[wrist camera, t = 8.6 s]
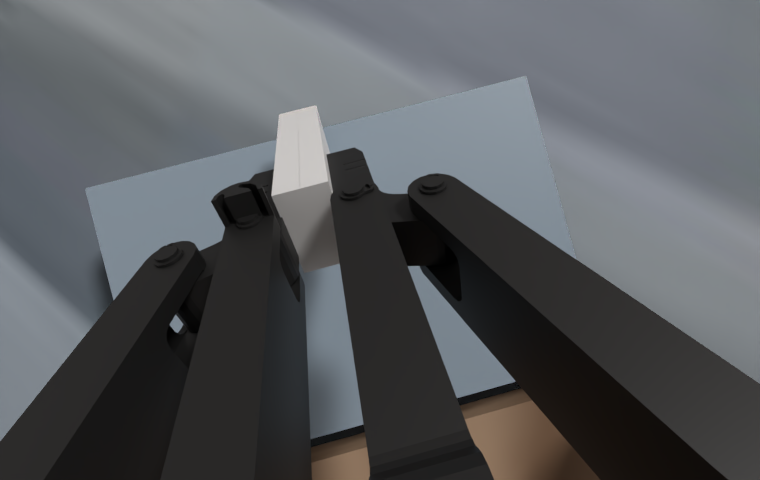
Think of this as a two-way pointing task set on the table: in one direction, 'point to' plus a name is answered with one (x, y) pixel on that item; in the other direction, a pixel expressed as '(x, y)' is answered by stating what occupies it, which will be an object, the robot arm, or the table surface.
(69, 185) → the table surface
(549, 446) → the box
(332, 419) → the panel
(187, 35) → the table surface
